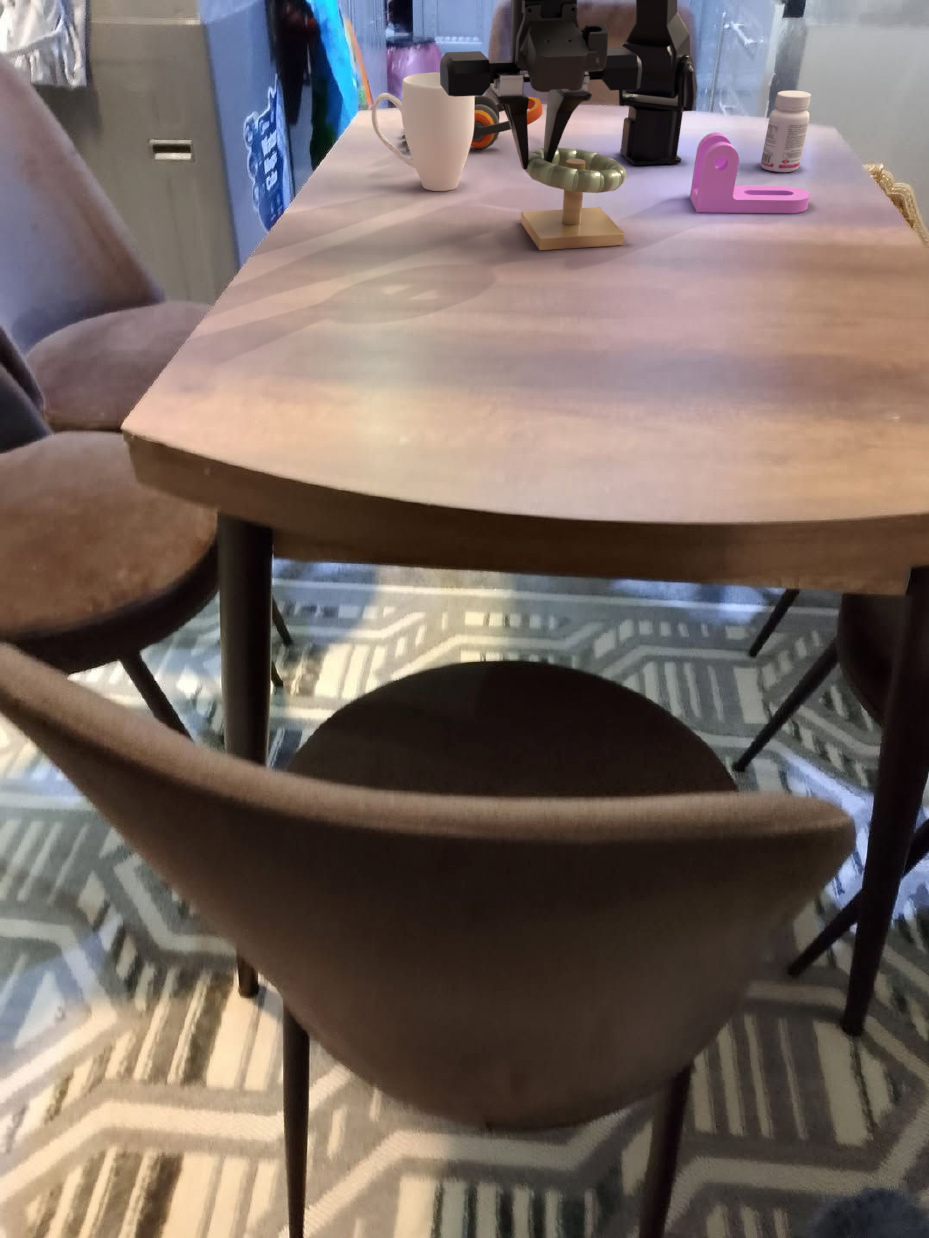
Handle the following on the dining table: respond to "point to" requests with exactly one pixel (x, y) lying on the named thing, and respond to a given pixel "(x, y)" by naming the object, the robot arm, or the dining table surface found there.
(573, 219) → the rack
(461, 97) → the mug
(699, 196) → the bracket
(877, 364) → the dining table surface
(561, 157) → the ring
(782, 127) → the pill bottle
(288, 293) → the dining table surface
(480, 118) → the headphones
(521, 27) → the robot arm
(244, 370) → the dining table surface
